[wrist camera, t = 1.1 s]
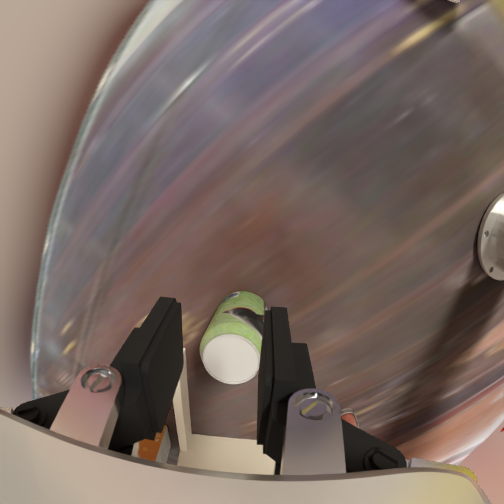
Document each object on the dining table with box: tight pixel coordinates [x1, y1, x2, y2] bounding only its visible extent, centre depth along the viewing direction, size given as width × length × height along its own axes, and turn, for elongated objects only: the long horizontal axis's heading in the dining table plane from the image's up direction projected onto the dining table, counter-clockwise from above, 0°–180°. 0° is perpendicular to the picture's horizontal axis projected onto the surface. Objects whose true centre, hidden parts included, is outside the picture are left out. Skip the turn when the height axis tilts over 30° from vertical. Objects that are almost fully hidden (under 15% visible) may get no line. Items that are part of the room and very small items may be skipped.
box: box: [173, 348, 275, 475], centre depth 38 cm, size 16×20×8 cm
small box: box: [137, 425, 171, 463], centre depth 39 cm, size 8×6×13 cm
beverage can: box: [200, 291, 268, 384], centre depth 31 cm, size 6×7×12 cm
